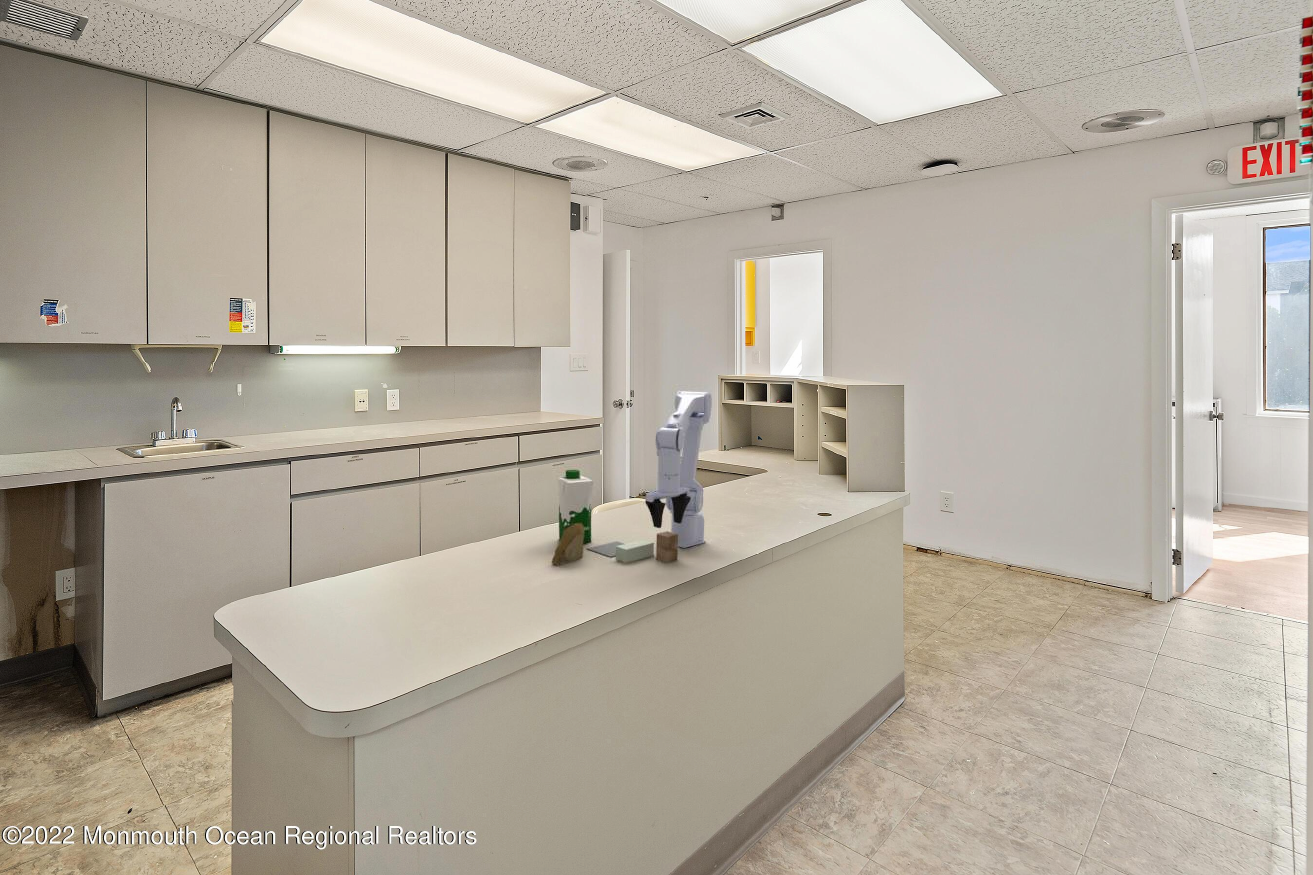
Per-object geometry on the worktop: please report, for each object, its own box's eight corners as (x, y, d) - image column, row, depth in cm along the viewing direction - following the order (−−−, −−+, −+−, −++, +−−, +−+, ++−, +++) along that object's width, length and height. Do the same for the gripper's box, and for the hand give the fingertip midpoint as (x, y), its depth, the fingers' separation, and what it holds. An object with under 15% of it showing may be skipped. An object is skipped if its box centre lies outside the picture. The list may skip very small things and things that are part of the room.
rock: (557, 560, 170) (593, 550, 175) (546, 529, 173) (582, 520, 178) (548, 575, 179) (583, 565, 184) (537, 545, 182) (572, 536, 187)
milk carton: (582, 535, 203) (583, 468, 201) (595, 542, 195) (596, 473, 193) (554, 538, 199) (555, 470, 196) (567, 546, 191) (567, 475, 188)
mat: (616, 542, 196) (616, 541, 196) (640, 549, 189) (640, 548, 189) (586, 549, 189) (586, 548, 189) (610, 557, 182) (610, 556, 181)
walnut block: (666, 556, 184) (667, 531, 183) (677, 560, 181) (678, 534, 180) (656, 559, 181) (656, 533, 180) (666, 563, 178) (667, 536, 177)
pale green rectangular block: (643, 552, 187) (643, 539, 187) (653, 555, 184) (653, 542, 184) (615, 559, 180) (615, 546, 180) (626, 562, 177) (626, 549, 177)
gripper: (677, 468, 186) (675, 517, 188) (638, 474, 176) (637, 526, 177) (696, 472, 181) (694, 522, 183) (657, 478, 171) (656, 531, 172)
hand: (667, 524), depth 180 cm, fingers open, 7 cm apart
